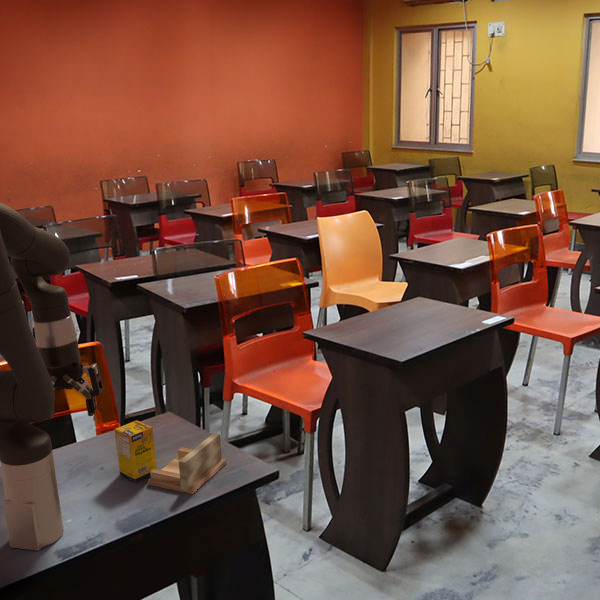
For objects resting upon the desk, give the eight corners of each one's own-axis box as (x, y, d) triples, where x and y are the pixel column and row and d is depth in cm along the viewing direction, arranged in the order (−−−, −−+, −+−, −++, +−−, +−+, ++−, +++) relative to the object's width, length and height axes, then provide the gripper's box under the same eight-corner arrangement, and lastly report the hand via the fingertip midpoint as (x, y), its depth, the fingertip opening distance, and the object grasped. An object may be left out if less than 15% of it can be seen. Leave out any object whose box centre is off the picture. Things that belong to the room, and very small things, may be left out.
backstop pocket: (192, 494, 157) (189, 463, 155) (148, 484, 162) (145, 454, 160) (226, 463, 169) (224, 434, 167) (184, 455, 174) (182, 427, 172)
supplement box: (157, 472, 167) (153, 426, 164) (135, 483, 162) (130, 436, 159) (141, 464, 171) (137, 419, 168) (119, 474, 166) (113, 428, 163)
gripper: (13, 348, 146) (30, 426, 150) (85, 343, 144) (99, 421, 149) (30, 336, 153) (45, 410, 157) (98, 331, 152) (111, 406, 156)
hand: (71, 416), depth 153 cm, fingers open, 8 cm apart
